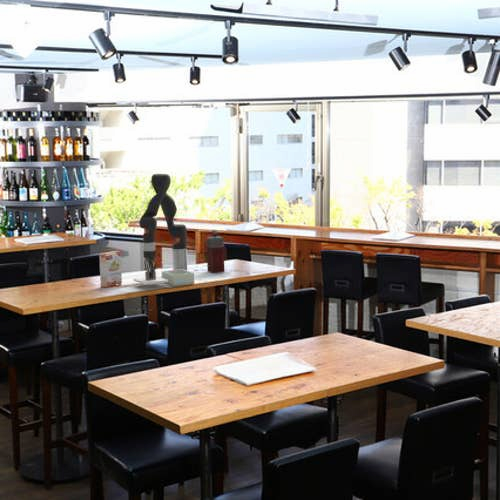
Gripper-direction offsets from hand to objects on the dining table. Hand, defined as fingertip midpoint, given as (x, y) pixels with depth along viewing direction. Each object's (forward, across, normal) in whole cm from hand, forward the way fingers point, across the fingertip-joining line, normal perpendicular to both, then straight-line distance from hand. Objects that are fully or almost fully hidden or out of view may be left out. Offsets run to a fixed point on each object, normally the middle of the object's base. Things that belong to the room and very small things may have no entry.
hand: (150, 277), depth 520 cm
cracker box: (+6, -18, -19) cm, 27 cm away
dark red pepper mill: (+5, -25, +58) cm, 63 cm away
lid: (+2, 0, 0) cm, 2 cm away
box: (+5, 0, +18) cm, 19 cm away
